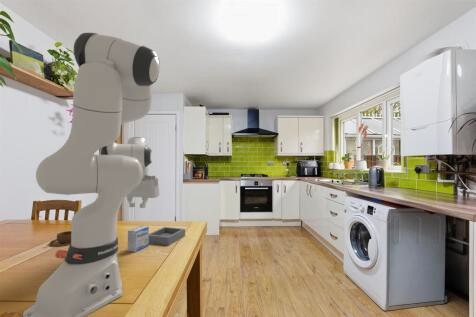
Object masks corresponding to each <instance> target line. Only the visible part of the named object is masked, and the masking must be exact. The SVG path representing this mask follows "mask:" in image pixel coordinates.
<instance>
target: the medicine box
mask: <svg viewBox="0 0 476 317" xmlns="http://www.w3.org/2000/svg"><path fill="white" fill-rule="evenodd" d="M149 232H150V229H149V226H146V225H140V226H138V227H135V228H133V229H130V230H129V229H128V230H127V251H128V252H134V253H138V252H139V251H142V250H143V249H145V248H147V247H149V246H150V243H149V234H150V233H149Z"/></svg>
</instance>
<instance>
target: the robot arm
mask: <svg viewBox="0 0 476 317" xmlns="http://www.w3.org/2000/svg"><path fill="white" fill-rule="evenodd" d="M73 56H74V59H75V61H76V64H77V66H78V67H79V68H78V70H77V74H76V77H75V83H74V88H73V96H72V97H73V98H72V118H71V119H72V121H71V128H70V132H69V136H68V137H67V140H66V141H65V143H64V144H63V145H62V146H61V147H60V148H59V149H58V150H56V151H55V152H53V153H52V154H51V155H49V156H47V157H45V158H44V159H43V160H42V161H41V162H40V163H39V164H38V166H37V169H36V171H35V179H36V183H37V185H38V186H39V187H40V189H41V190H42V191H43V192H45V193H47V194H54V195H63V196H64V195H65V196H66V195H67V196H68V195H82V194H83V195H85V194H97V197H96V199H94V201H93V202H92V203H90V204H87V205H85V206H83V207H82V208H80V209H79V210H78V211H76V212H75V213H74V214H73V216H72V217H71V221H70V223H71V230H70V231H71V242H70V243H71V244H70V245H68V246H69V247H68V249H67V250H64V249H58V250H56V252H55V253H54V257H55V258H58V259H61V260H62V259H63V262H62V264H60V265H59V267H58V268H57V269H55V271H54V272H52V273H51V275H50V276H49V277H48V278H47V279H46V280H45V281H44V282H43V283H42V284H41V285H40V286H39V288H38V291H37V294H36V297H35V303H34V304H33V305H31V306H30V307H28V308H26V309H25V310H24V311H23V313H22V317H86V316H87V315H89V314H91V313H94V312H95V311H97V310H99V309H100V308H103V307H105V306H106V305H108V304H110V303H112V302H113V301H115V300H116V299H118V298H121V297H122V296H123V289H122V288H123V281H122V279H121V278H122V277H121V274H120V269H119V261H118V260H119V259H118V253H117V252H118V251H119V238H118V236H117V227H118V218H119V217H118V216H119V210H120V207H121V205H122V204H123V202H124V201H125V199H127V201H128V202H127V203H128V205H129V208H135V206H136V202H134V201H133V199H134V198H141V203H139V208H140V209H144V208H146V207H147V206H146V204H147V202H148V200H149V199H155V198H158V197H160V186H159V179H158V177H156V176H155V175H149V165H151V164H152V163H153V162H152V151H153V150H152V149H151V148H150V147H149V146H148V141H147V138H143V137H139V136H133V137H130V138H128V140H127V144H126V143H116V141H117V140H118V139H119V137H120V135H121V129H122V128H121V127H122V125H124V124H127V123H131V122H135V121H138V120H141V119H143V118H144V117H146V116H147V115H148V114H149V112H150V111H151V108H152V103H153V102H152V101H153V100H152V99H153V98H152V97H153V96H152V95H153V92H152V91H153V90H152V86H153V84H155V83H156V82H157V80H158V78H159V73H160V70H161V69H160V68H161V66H160V65H161V64H160V58H159V57H158V55H157V53H156V51H155V50H153V49H151V48H149V47H147V46H145V45H140V44H136V43H134V42H131V41H127V40H125V39H122V38H119V37H115V36H111V35H104V34H99V33H97V32H83V33H81V34H80V35H78V37H77V38H76V39H75V40H74V43H73ZM97 151H99V154H96V152H97Z"/></svg>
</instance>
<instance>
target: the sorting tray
mask: <svg viewBox="0 0 476 317" xmlns="http://www.w3.org/2000/svg"><path fill="white" fill-rule="evenodd" d="M185 237H186V229H185V228H181V227H179V228H178V227H170V226H164V227H161V228H159V229H157V230H154V231H153V232H150V233H149V244H155V245H163V246H168V247H169V246H171V245H172V244H174V243H176V242H177V241H179V240H180V239H182V238H185Z"/></svg>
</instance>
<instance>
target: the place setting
mask: <svg viewBox="0 0 476 317" xmlns="http://www.w3.org/2000/svg"><path fill="white" fill-rule="evenodd" d="M56 241H57V242H58V243H60V244H55V243H57V242H56ZM70 244H71V230H69V231H62V232H58V233H57V234H56V239H53V240H51V241H50V242H49V246H51V247H56V248H57V247H67V246H70ZM49 246H46V247H42V249H46V248H48V247H49Z"/></svg>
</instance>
